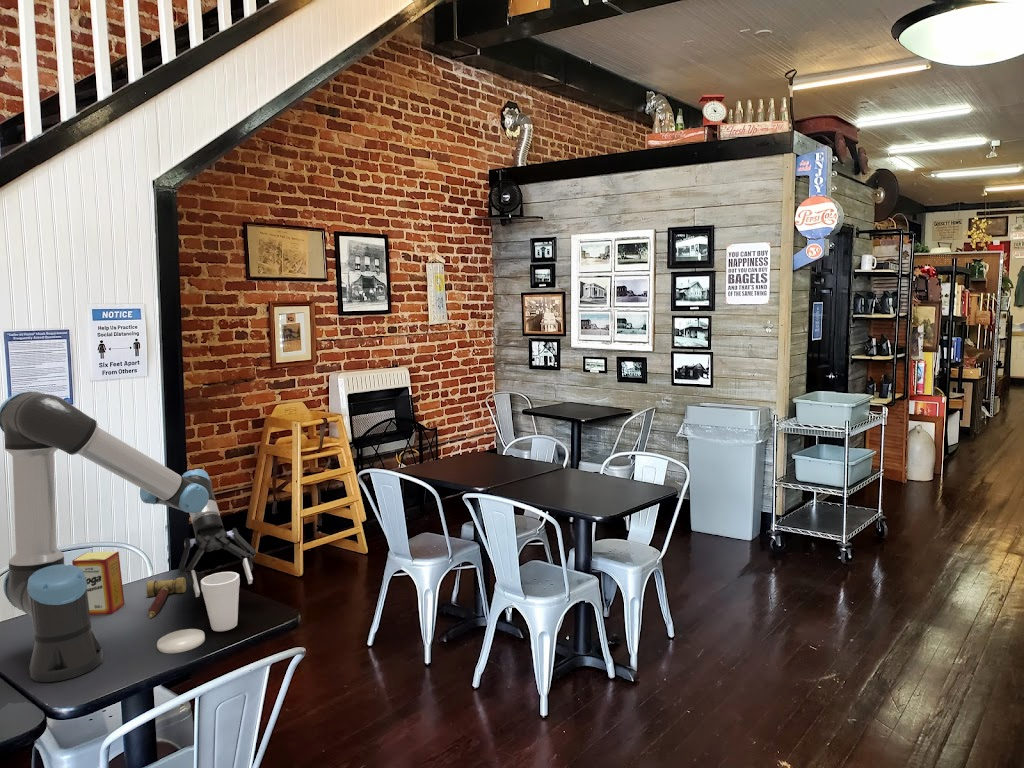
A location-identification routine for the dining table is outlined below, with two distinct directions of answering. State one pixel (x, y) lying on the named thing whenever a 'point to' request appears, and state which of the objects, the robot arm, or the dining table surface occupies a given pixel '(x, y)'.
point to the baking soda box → (102, 581)
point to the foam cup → (221, 599)
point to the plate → (180, 641)
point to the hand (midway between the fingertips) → (224, 588)
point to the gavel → (163, 592)
